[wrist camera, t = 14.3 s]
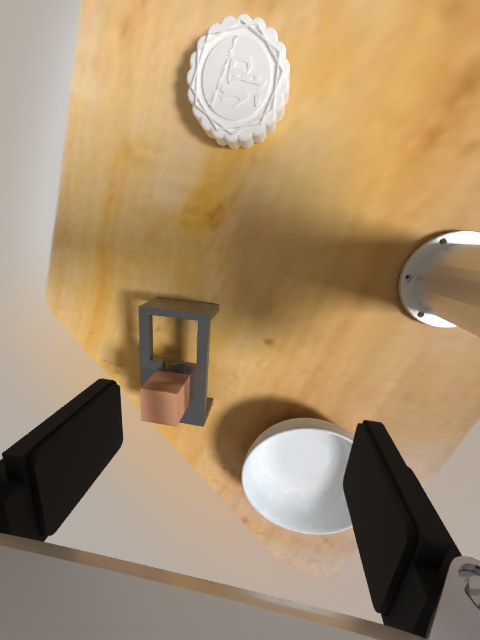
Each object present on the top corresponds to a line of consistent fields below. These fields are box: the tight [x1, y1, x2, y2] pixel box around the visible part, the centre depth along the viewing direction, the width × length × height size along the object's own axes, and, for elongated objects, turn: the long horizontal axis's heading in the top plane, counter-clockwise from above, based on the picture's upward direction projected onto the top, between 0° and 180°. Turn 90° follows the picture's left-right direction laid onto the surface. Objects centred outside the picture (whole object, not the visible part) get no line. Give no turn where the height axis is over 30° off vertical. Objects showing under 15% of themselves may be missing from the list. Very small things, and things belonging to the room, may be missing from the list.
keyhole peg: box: [140, 361, 190, 427], centre depth 38 cm, size 5×5×8 cm
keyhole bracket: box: [139, 297, 219, 427], centre depth 41 cm, size 18×10×6 cm, turn 175°
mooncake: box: [186, 14, 290, 149], centre depth 31 cm, size 12×12×4 cm
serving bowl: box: [241, 418, 354, 534], centre depth 43 cm, size 21×21×7 cm
